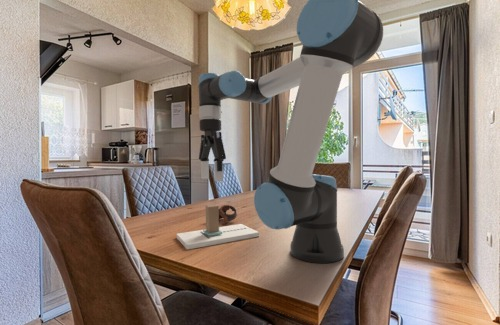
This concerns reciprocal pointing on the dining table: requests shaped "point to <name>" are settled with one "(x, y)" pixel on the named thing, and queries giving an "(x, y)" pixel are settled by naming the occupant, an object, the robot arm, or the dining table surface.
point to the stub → (212, 220)
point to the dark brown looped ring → (227, 216)
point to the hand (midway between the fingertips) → (211, 180)
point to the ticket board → (216, 236)
